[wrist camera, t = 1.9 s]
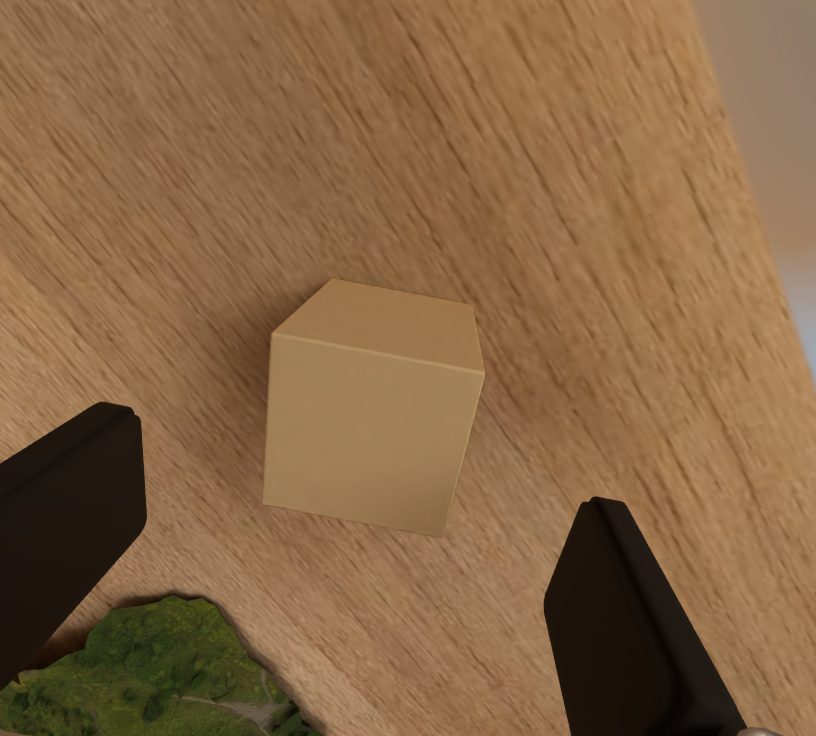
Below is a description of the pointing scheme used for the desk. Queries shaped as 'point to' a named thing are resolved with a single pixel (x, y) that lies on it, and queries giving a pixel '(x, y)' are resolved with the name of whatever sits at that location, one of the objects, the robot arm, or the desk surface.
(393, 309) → the block
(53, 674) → the landscape model
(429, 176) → the desk surface
